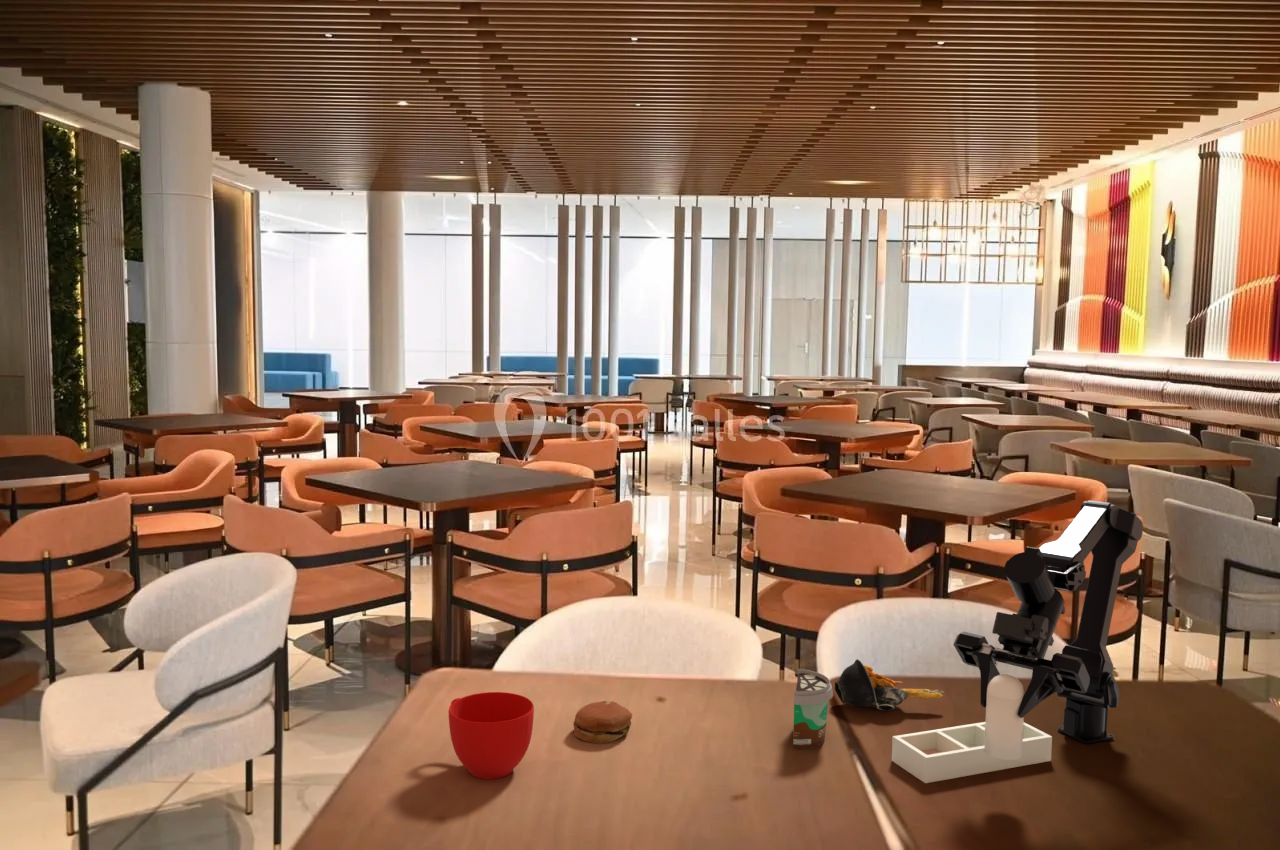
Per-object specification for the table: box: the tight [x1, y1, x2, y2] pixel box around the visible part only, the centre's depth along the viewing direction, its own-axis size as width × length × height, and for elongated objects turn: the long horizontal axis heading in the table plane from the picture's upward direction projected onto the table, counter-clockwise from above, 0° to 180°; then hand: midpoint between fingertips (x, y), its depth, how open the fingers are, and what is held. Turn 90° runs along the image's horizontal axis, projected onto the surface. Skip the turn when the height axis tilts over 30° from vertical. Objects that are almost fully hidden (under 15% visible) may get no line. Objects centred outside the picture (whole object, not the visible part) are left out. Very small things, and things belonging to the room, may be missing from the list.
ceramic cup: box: [448, 691, 535, 780], centre depth 156 cm, size 13×17×10 cm
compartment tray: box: [891, 721, 1053, 784], centre depth 161 cm, size 24×9×4 cm, turn 111°
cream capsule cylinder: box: [984, 673, 1026, 760], centre depth 147 cm, size 5×5×12 cm
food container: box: [792, 668, 834, 750], centre depth 168 cm, size 12×6×10 cm, turn 168°
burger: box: [572, 700, 633, 744], centre depth 170 cm, size 10×9×5 cm
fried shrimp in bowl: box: [834, 659, 945, 711], centre depth 184 cm, size 9×11×18 cm
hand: (1000, 711), depth 146 cm, fingers closed on cream capsule cylinder, 5 cm apart
